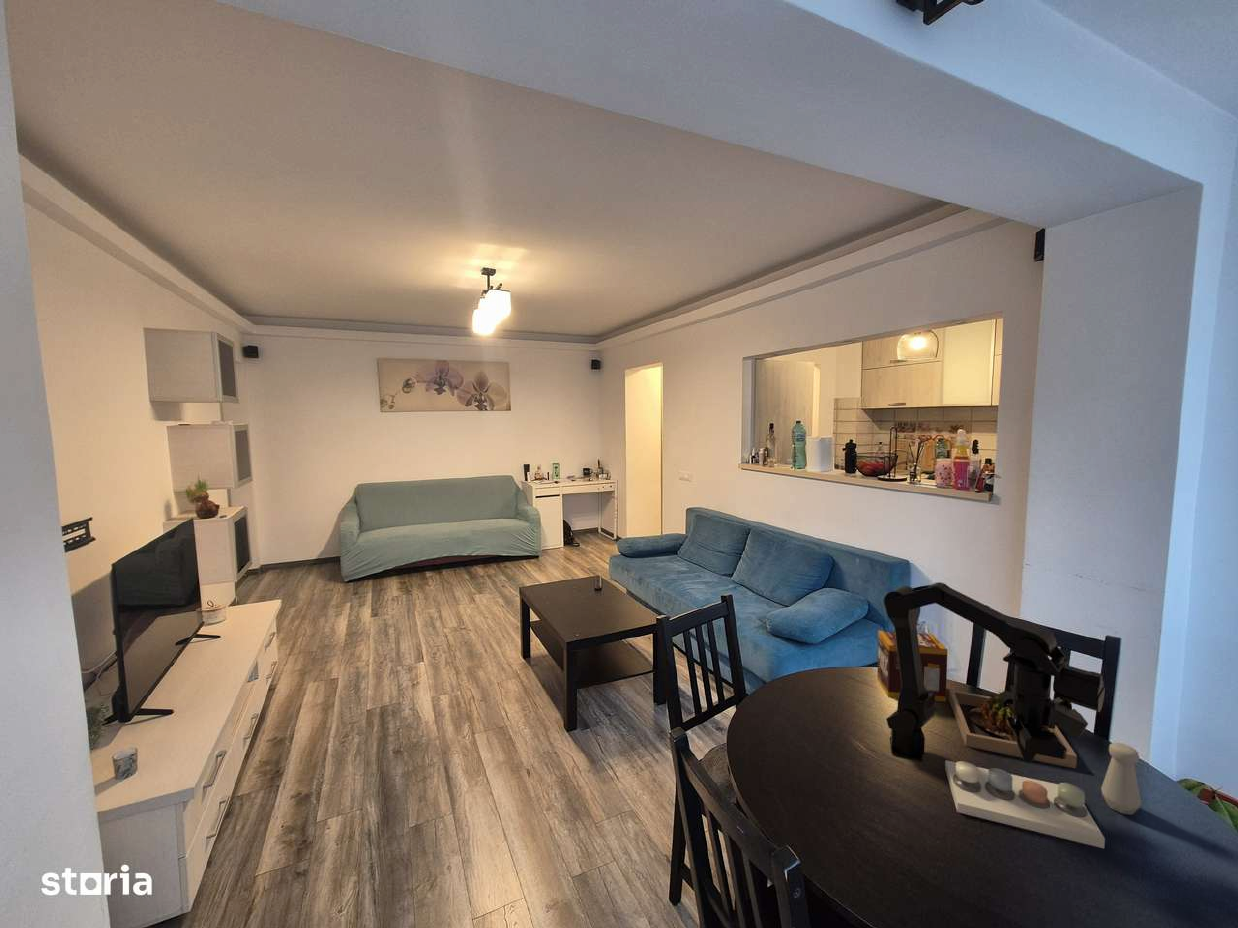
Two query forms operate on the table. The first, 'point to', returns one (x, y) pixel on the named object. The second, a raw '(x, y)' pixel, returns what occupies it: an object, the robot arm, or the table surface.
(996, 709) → the cactus
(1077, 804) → the sage button
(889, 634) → the supplement box
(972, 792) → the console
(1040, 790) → the terracotta button
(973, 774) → the ivory button
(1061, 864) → the table surface
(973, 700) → the planter tray
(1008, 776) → the slate button
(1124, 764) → the salt shaker
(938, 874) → the table surface
